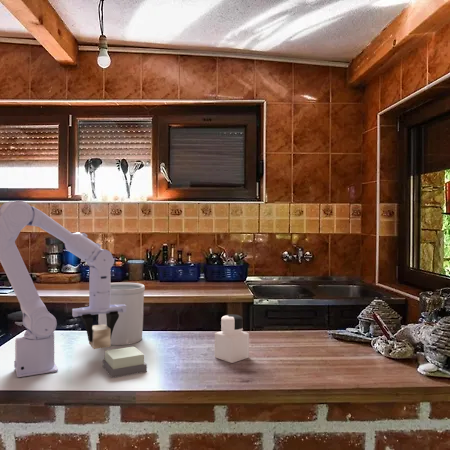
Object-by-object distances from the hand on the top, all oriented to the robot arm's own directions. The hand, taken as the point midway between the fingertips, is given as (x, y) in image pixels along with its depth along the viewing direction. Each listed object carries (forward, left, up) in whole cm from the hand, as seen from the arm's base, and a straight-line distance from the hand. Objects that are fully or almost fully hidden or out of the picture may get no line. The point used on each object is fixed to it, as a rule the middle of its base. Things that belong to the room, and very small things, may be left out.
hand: (99, 339), depth 124 cm
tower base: (+4, -12, -6) cm, 14 cm away
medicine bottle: (+33, -17, -5) cm, 38 cm away
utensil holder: (+11, +16, -6) cm, 20 cm away
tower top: (+4, -12, -3) cm, 13 cm away
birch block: (0, 0, -2) cm, 2 cm away
